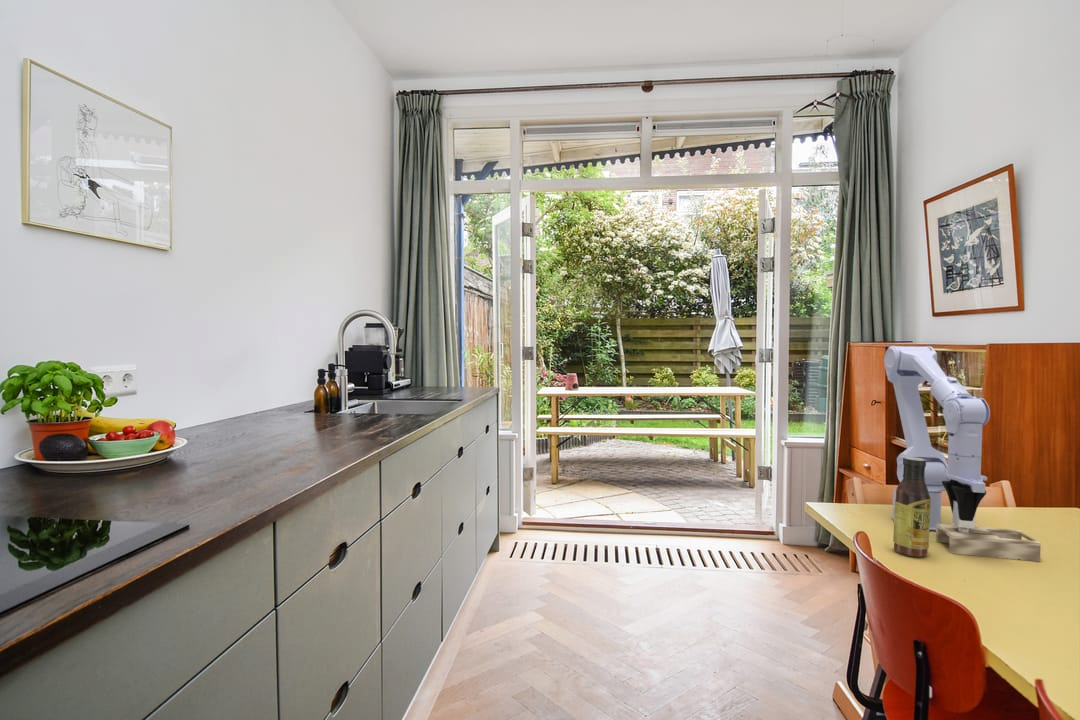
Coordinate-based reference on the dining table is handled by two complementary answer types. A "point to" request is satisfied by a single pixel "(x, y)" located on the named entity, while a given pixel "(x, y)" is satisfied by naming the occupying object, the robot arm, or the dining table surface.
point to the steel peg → (962, 525)
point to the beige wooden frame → (989, 542)
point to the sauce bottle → (912, 510)
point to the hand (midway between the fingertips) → (962, 517)
